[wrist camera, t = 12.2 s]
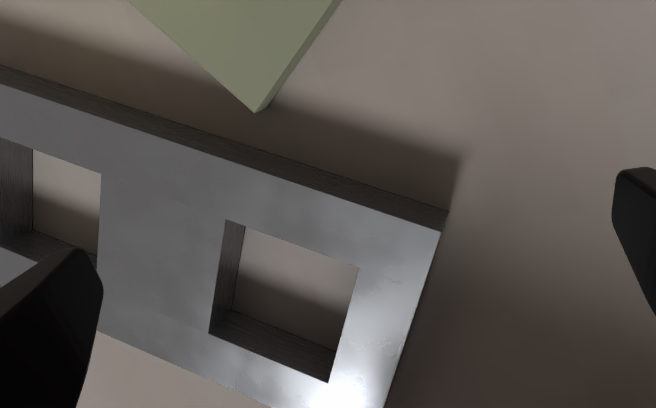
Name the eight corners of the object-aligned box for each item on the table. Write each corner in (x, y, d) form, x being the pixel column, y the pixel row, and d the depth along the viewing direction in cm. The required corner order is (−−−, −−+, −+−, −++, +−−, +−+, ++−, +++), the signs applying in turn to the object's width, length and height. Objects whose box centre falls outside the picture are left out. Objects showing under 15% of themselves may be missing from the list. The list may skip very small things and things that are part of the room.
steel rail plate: (449, 212, 20) (441, 232, 18) (380, 416, 24) (369, 449, 22) (-10, 61, 25) (-52, 66, 23) (-4, 254, 29) (-39, 271, 27)
